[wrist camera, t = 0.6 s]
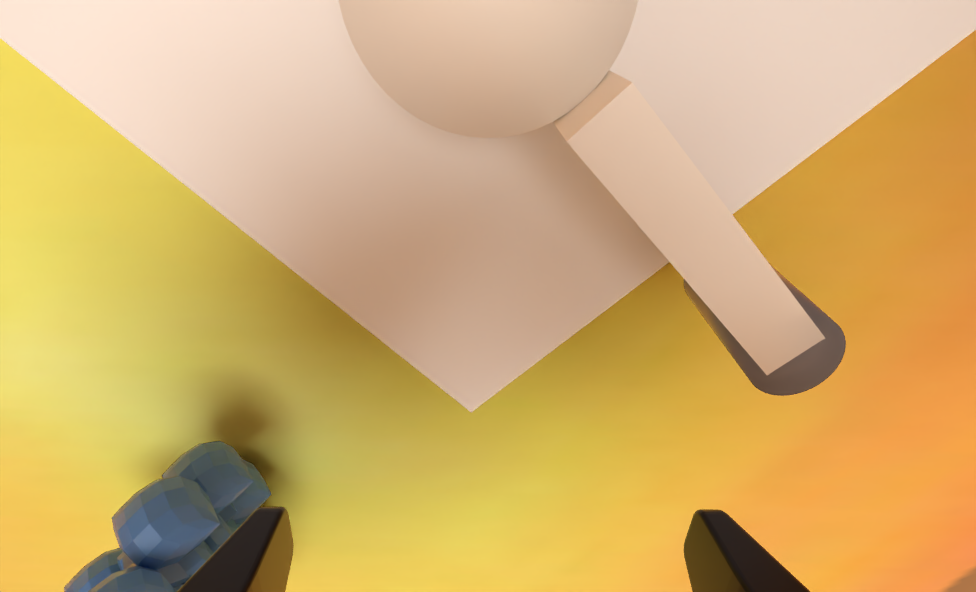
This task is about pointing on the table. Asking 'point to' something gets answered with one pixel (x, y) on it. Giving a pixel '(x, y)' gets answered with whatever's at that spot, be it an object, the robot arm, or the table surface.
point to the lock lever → (597, 151)
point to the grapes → (176, 523)
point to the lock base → (464, 150)
